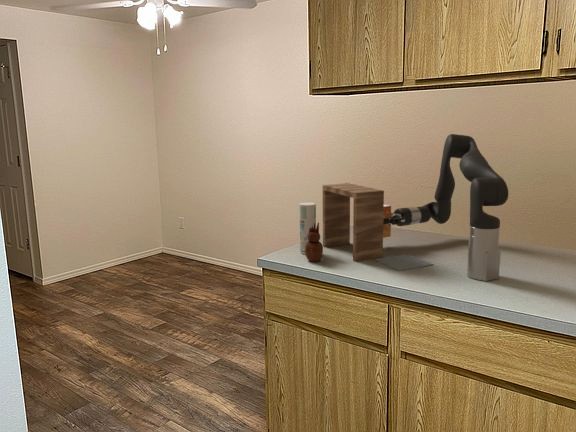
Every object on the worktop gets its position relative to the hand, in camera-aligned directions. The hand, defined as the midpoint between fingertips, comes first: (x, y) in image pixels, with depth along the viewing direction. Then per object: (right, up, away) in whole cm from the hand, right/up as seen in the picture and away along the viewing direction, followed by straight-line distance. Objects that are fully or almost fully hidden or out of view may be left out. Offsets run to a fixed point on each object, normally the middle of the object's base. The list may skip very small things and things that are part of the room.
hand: (374, 220), depth 200 cm
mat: (+8, -15, -18) cm, 25 cm away
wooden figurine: (-25, -15, -13) cm, 32 cm away
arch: (-10, -13, -2) cm, 16 cm away
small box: (+2, -7, +2) cm, 8 cm away
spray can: (-27, -13, -2) cm, 30 cm away
